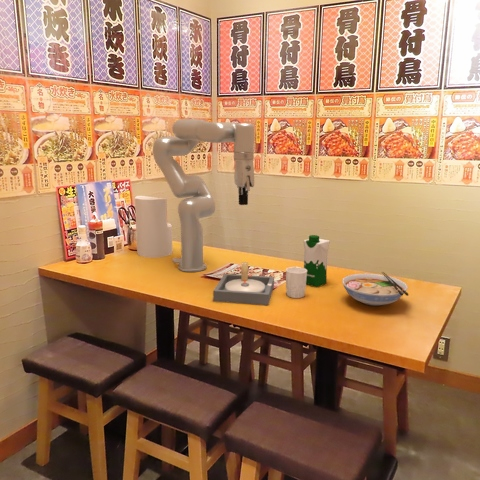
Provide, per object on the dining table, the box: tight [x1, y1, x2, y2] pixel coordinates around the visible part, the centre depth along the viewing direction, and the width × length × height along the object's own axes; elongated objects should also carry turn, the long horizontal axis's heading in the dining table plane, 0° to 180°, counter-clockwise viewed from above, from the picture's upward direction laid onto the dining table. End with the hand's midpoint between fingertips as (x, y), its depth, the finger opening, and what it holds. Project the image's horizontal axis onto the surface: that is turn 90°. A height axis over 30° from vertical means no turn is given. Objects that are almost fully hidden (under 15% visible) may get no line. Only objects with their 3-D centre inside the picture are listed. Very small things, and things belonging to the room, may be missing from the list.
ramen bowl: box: [342, 271, 409, 307], centre depth 165 cm, size 25×23×8 cm
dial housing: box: [212, 273, 275, 306], centre depth 173 cm, size 20×20×4 cm
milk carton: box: [303, 234, 331, 288], centre depth 183 cm, size 9×9×20 cm
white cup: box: [285, 266, 307, 299], centre depth 171 cm, size 8×8×10 cm
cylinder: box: [134, 195, 173, 259], centre depth 224 cm, size 17×17×28 cm
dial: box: [225, 261, 265, 293], centre depth 172 cm, size 15×15×9 cm
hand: (243, 204), depth 177 cm, fingers closed
